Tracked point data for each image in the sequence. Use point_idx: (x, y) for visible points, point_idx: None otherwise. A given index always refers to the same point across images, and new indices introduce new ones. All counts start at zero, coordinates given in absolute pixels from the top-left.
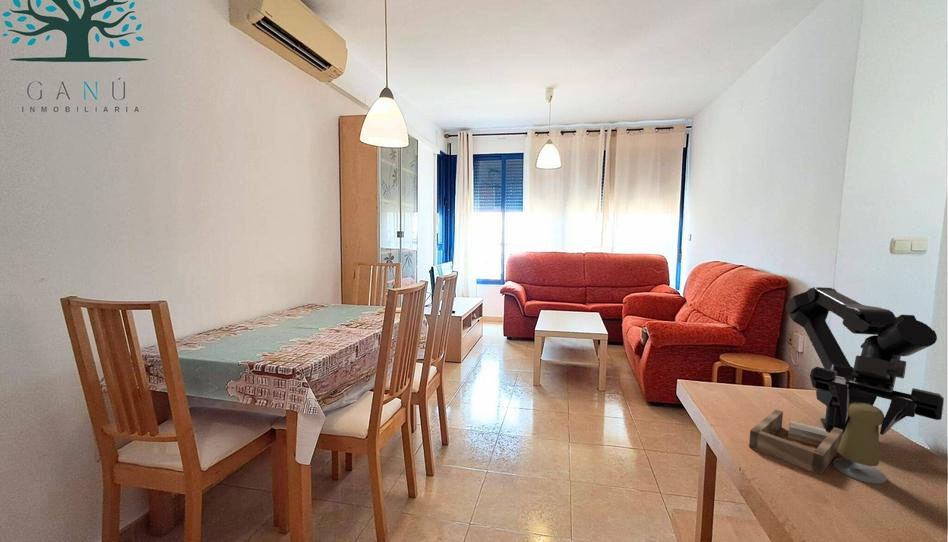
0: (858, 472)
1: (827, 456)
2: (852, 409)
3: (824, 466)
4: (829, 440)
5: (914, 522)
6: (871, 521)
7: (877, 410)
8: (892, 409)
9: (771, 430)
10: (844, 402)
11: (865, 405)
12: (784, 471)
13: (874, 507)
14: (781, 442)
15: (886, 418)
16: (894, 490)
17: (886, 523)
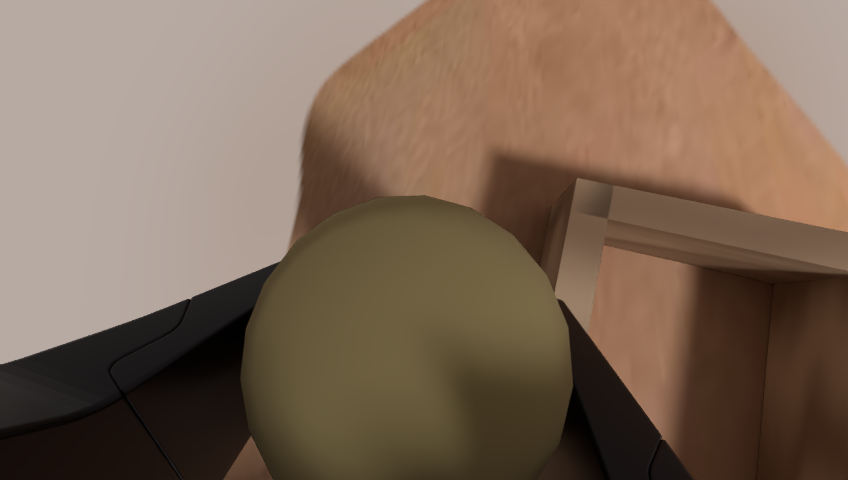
0: None
1: (550, 269)
2: (534, 260)
3: (549, 238)
4: None
5: (353, 100)
6: (444, 34)
7: (287, 287)
8: (100, 377)
9: (793, 463)
10: (628, 463)
11: (396, 355)
12: (656, 148)
13: (428, 108)
14: (745, 213)
15: (249, 298)
16: None
17: (414, 50)
